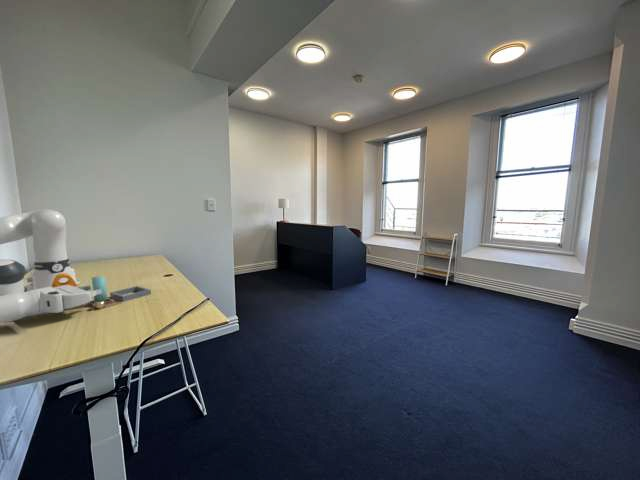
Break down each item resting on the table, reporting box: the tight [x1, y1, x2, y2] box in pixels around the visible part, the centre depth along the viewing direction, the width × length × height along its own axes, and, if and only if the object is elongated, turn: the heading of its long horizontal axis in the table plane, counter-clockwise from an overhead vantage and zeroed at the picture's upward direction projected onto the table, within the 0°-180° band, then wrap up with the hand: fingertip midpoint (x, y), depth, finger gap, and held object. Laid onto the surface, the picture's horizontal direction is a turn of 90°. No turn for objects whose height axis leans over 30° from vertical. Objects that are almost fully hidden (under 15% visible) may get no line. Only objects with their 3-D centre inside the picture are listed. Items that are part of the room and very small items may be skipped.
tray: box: [109, 285, 152, 303], centre depth 115 cm, size 11×11×3 cm
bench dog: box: [94, 301, 106, 311], centre depth 100 cm, size 3×3×2 cm
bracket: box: [51, 273, 79, 288], centre depth 109 cm, size 11×7×12 cm, turn 136°
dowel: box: [91, 275, 108, 302], centre depth 104 cm, size 4×4×11 cm
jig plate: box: [82, 297, 122, 311], centre depth 105 cm, size 14×9×2 cm, turn 62°
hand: (95, 289), depth 103 cm, fingers open, 8 cm apart
